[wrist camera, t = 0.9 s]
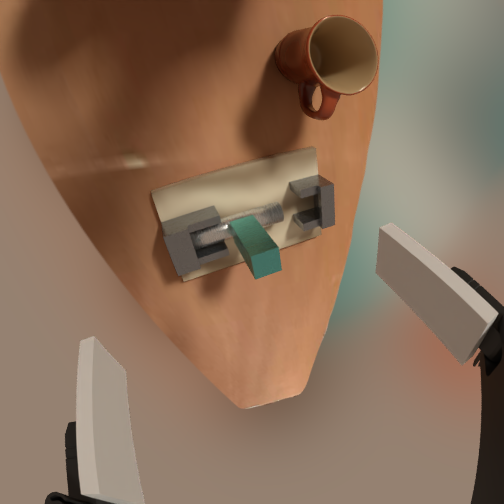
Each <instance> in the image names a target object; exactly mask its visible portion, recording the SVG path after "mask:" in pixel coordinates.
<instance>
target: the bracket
mask: <svg viewBox="0 0 504 504" xmlns="http://www.w3.org/2000/svg"><path fill="white" fill-rule="evenodd" d="M219 223H221V219H220V215H219V213H218V212H217V210H216V208H215V206H214V205H213V206H210V207H207V208H204V209H200V210H197V211H194V212H191V213H188V214H185V215H182V216H179V217H176V218H173V219H170V220H167V221H164V222H161V224H162V232H163V238H164V241H165V244H166V246H167V249H168V251H169V254H170V257H171V259H172V262H173V264H174V267H175V269H176V272H177V274H178V276H180V275H183V274H186V273H189V272H192V271H195V270H198V269H201V267H200V265H202V264H204V263H207V262H210V261H213V260H216V259H219V258H222V257H225V256H228V255H230V254H229V250H228V247H227V246H226V244H225V242H224V241H221V242H218V243H215V244H212V245H209V246H206V247H203V248H200V249H197V250H195V249H194V246H193V243H192V240H191V237H190V234H189V233H191V232H194V231H197V230H200V229H204V228H207V227H210V226H213V225H216V224H219Z"/></svg>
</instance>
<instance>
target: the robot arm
mask: <svg viewBox="0 0 504 504" xmlns="http://www.w3.org/2000/svg"><path fill="white" fill-rule="evenodd" d="M376 273H377V275H379V277H380V278H381V279H383V281H385V282H386V284H388V286H389V287H390V288H391V289H392V290H393V291H394V292H395V293H396V294H397V295H398V296H399V297H400V298H401V299H402V300H403V301H404V302H405V303H406V304H407V305H408V306H409V307H410V308H411V309H412V310H413V311H414V312H415V313H416V315H417V316H418V317H419V318H420V319H421V320H422V321H423V322H424V323H425V324H426V325H427V326H428V328H429V329H430V330H432V332H433V333H434V334H435V335H436V336H437V337H438V339H439V340H440V341H441V342H442V343H443V344H444V345H445V346H446V348H447V349H448V350H449V351H450V352H451V353H452V355H453V356H454V357H455V358H456V359H457V360H458V362H459V363H460V364H461V365H463V364H464V363H465V362H466V361H468V360H469V359H470V358H471V357H472V356H473V355H474V353H475V352H476V350H477V349H478V347H479V348H480V350H481V351H480V353H479V354H478V356H477V357H476V359H475V360H474V363H473V366H476V364H477V363H478V361H479V360H480V362H479V365H478V366H480V368H481V391H482V392H481V393H482V411H481V435H480V448H479V458H478V465H477V473H476V479H475V485H474V491H473V496H472V501H471V504H504V306H502V305H501V304H500V303H499V302H498V301H497V300H496V299H495V298H494V297H493V296H492V295H491V294H489V293H488V292H487V291H486V290H485V289H484V288H483V287H482V286H480V285H479V283H477V282H476V281H475V280H473V278H472V277H470V276H469V275H468V274H467V273H466V272H465V271H463V270H461V269H458V268H456V267H452V268H451V269H450V268H449V267H448V266H446V265H445V264H444V263H443V262H442V261H440V260H439V259H438V258H437V257H436V256H434V255H433V254H432V253H430V252H429V251H428V250H427V249H425V248H424V247H423V246H422V245H420V244H419V243H418V242H417V241H415V240H414V239H413V238H411V237H410V236H409V235H408V234H406V233H405V232H403V231H402V230H401V229H400V228H398V227H397V226H395V225H394V224H393V223H389V224H387V225H384V226H382V227H380V228H379V242H378V254H377V265H376ZM78 360H79V361H78V373H77V393H76V421H75V422H70V423H68V427H67V430H66V433H65V447H66V450H65V451H66V458H67V459H66V470H67V481H68V492H69V496H67V495H64V494H61V493H58V492H52V493H50V494H49V495H48V496H47V498H46V500H45V504H145V501H144V497H143V492H142V488H141V483H140V478H139V473H138V467H137V462H136V456H135V450H134V444H133V437H132V429H131V422H130V413H129V403H128V392H127V378H126V370H125V369H124V368H123V367H122V366H121V365H120V364H119V363H118V362H117V361H116V360H115V359H114V358H113V356H112V355H110V354H109V352H108V351H107V350H106V349H105V348H104V347H103V345H102V344H101V343H100V342H99V341H98V340H97V338H96V337H95V336H93V337H89V338H87V339H84V340H81V341H80V348H79V359H78Z"/></svg>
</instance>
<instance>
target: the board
mask: <svg viewBox="0 0 504 504" xmlns="http://www.w3.org/2000/svg"><path fill="white" fill-rule="evenodd" d="M314 175H318V167H317V155H316V148H315V147H307V148H302V149H298V150H293V151H289V152H284V153H280V154H276V155H272V156H268V157H263V158H259V159H255V160H252V161H248V162H244V163H240V164H236V165H233V166H229V167H225V168H222V169H218V170H215V171H211V172H208V173H205V174H201V175H198V176H195V177H191V178H188V179H185V180H182V181H179V182H176V183H172V184H169V185H166V186H163V187H160V188H157V189H154V190H152V191H151V194H152V197H153V200H154V203H155V206H156V209H157V212H158V215H159V218H160V220H161V222H164V221H167V220H170V219H173V218H176V217H179V216H182V215H185V214H188V213H191V212H194V211H197V210H200V209H204V208H207V207H210V206H213V205H214V206H215V208H216V210H217V212H218V213H219V215H220V219H221V218H224V217H227V216H230V215H233V214H237V213H240V212H243V211H246V210H250V209H253V208H256V207H260V206H263V205H266V204H270V203H273V202H276V201H277V202H279V204H280V205H281V207H282V210H283V214H284V221H283V222H280V223H277V224H274V225H271V226H268V227H265V228H264V229H265V231H266V232H267V233H268V234H269V236H270V237H271V238H272V239H273V241H274V242H275V243H276V244H277V246H278V247H279V249H282V248H285V247H288V246H290V245H293V244H296V243H299V242H302V241H305V240H308V239H311V238H314V237H317V236H319V235H321V227H320V226H319V227H316V228H313V229H310V230H307V231H303V230H302V229H301V228H300V227H299V226H298V225H297V224H296V223H295V222H294V220H293V214H295V213H298V212H302V211H305V210H308V209H311V208H314V197H313V195H311V196H308V197H304V198H300V197H299V196H297V195H296V194H295V193H293V192H292V191H291V190H290V184H289V182H291V181H294V180H298V179H302V178H306V177H310V176H314ZM224 242H225V244H226V246H227V247H228V250H229V254H230V255H228V256H225V257H222V258H219V259H216V260H213V261H210V262H207V263H204V264H202V265H200V267H201V269H198V270H195V271H192V272H189V273H186V274H183V275H181V276H182V278H183V281H184V282H185V281H188V280H191V279H194V278H196V277H199V276H202V275H205V274H208V273H211V272H214V271H217V270H220V269H223V268H226V267H229V266H232V265H235V264H238V263H241V262H244V261H245V260H244V259H243V257H242V255H241V253H240V252H239V250H238V248H237V246H236V244H235V243H234V239H233V238H231V239H227V240H224Z"/></svg>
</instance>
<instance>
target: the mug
mask: <svg viewBox="0 0 504 504" xmlns="http://www.w3.org/2000/svg"><path fill="white" fill-rule="evenodd" d="M275 61H276V64H277V67H278V69H279V71H280V72H281V73H282V74H283V76H284V77H285V78H287V79H288V80H290V81H292V82H294V83H297V84H298V92H299V99H300V106H301V108H302V110H303V112H304V113H305V114H306V115H307V116H309V117H311V118H313V119H317V120H327V119H329V118H330V117H331V116H332V114H333V112H334V110H335V107H336V104H337V102H338V100H339V98H340V95H341V94H343V95H354V94H357V93H359V92H361V91H363V90H365V89H366V88H367V87H368V86H369V85H370V84H371V83H372V81H373V80H374V78H375V75H376V73H377V69H378V52H377V48H376V45H375V42H374V40H373V38H372V36H371V35H370V33H369V32H368V31H367V30H366V28H365V27H364V26H363V25H361V24H360V23H359V22H357V21H356V20H354V19H352V18H350V17H347V16H343V15H331V16H327V17H324V18H322V19H320V20H319V21H318V22H316V23H315V24H314V25H313V27H310V28H305V29H301V30H296V31H293V32H291V33H289V34H288V35H287V36H285V37H284V38H283V39H282V40H281V41H280V42H279V43H278V45H277V48H276V51H275ZM318 86H320V88H321V93H322V103H321V106H320V108H319V110H318V111H316V110H315V109H314V108H313V105H312V96H313V93H314V91H315V88H316V87H318Z"/></svg>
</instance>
